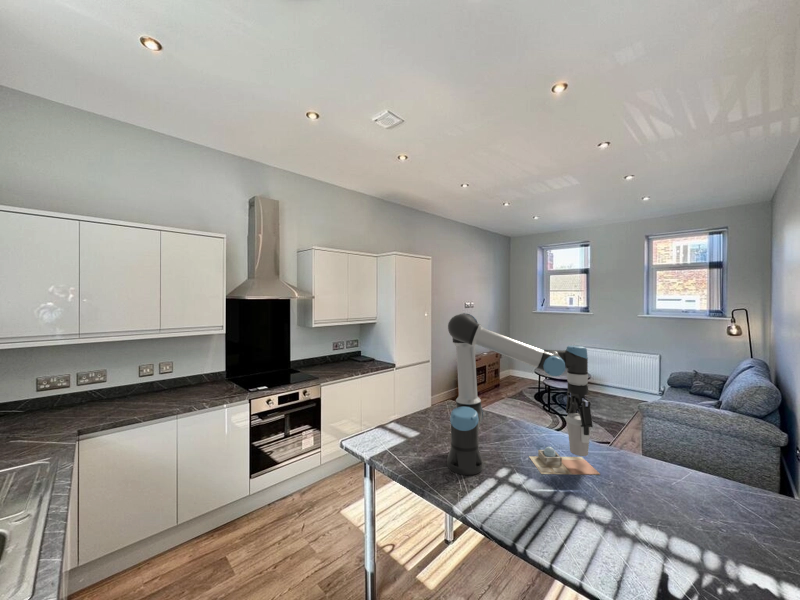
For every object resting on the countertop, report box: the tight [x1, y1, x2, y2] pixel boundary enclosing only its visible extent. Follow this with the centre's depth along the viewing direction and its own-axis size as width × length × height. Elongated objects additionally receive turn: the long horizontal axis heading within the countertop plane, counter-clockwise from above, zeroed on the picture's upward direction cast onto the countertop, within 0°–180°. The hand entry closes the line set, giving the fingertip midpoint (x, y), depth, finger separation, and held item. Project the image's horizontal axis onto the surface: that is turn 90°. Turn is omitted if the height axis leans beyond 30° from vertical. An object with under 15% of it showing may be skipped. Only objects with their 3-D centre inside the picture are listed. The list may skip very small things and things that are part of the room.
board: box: [528, 449, 601, 476], centre depth 132 cm, size 23×14×4 cm, turn 87°
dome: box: [543, 446, 556, 457], centre depth 135 cm, size 4×4×5 cm
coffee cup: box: [565, 412, 591, 457], centre depth 130 cm, size 10×10×15 cm
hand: (578, 436), depth 130 cm, fingers closed on coffee cup, 9 cm apart
